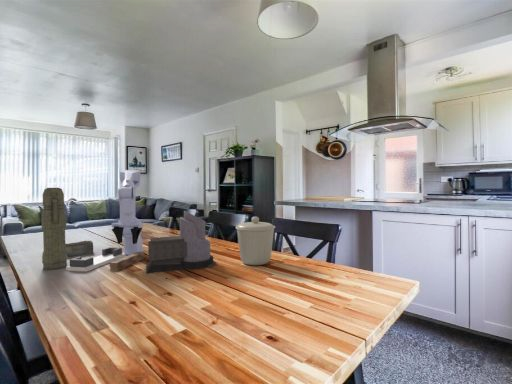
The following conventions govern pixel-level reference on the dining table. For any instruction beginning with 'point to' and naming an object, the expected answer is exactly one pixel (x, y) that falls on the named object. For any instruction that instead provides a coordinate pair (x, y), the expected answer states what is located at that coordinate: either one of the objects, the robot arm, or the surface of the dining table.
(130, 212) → the robot arm
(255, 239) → the canister
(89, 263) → the end cap cradle
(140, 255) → the walnut slat
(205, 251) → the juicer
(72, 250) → the dark grey stone block
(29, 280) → the dining table surface
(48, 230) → the olive stone pillar
